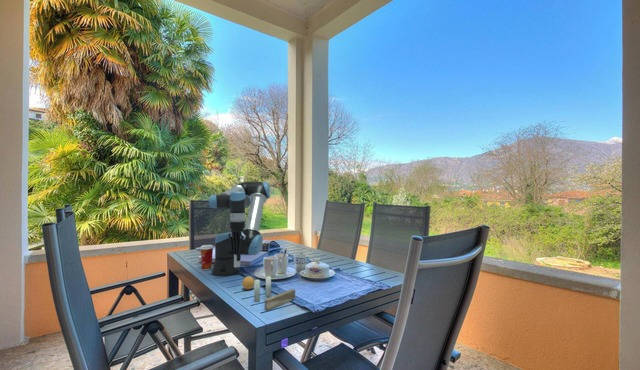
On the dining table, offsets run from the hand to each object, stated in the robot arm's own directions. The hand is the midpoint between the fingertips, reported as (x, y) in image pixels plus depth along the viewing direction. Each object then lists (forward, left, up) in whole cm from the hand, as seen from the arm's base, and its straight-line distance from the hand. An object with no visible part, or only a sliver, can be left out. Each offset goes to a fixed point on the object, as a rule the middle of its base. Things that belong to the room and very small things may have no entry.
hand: (237, 266), depth 146 cm
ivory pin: (+24, 0, -9) cm, 26 cm away
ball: (+9, 0, -6) cm, 11 cm away
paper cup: (-40, +5, -10) cm, 41 cm away
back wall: (+35, -2, -9) cm, 36 cm away
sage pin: (+24, -6, -9) cm, 27 cm away
